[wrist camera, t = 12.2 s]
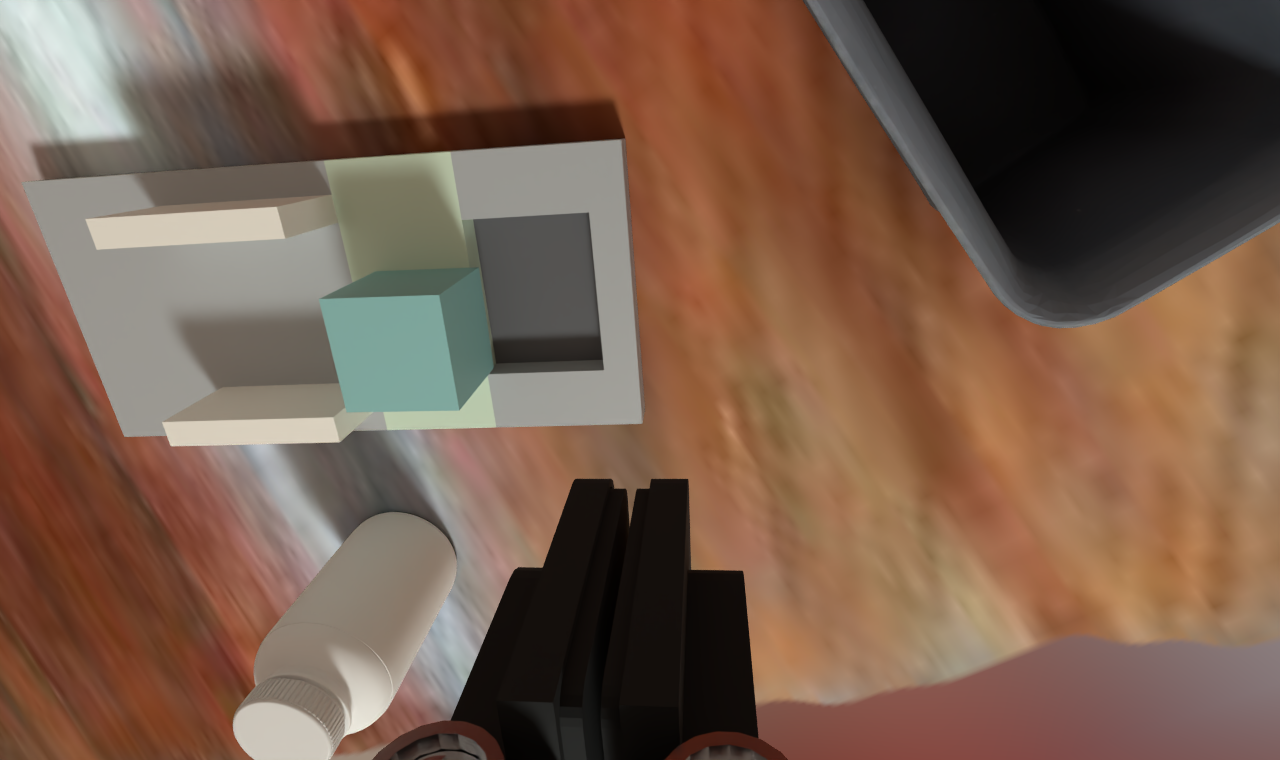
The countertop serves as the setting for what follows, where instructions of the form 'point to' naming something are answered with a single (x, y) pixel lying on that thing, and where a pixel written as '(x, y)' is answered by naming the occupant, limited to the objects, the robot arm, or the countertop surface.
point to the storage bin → (1077, 135)
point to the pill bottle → (347, 640)
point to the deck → (335, 257)
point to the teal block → (409, 339)
